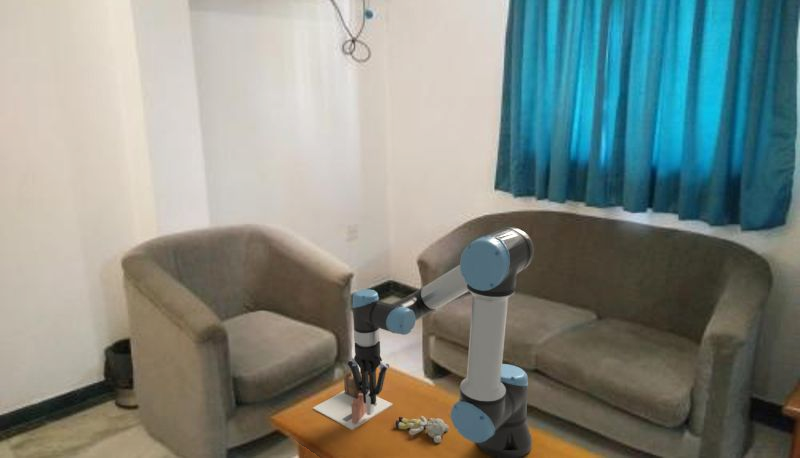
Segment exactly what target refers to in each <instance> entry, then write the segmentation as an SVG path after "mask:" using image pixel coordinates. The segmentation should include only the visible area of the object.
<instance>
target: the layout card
mask: <svg viewBox="0 0 800 458" xmlns="http://www.w3.org/2000/svg"><path fill="white" fill-rule="evenodd" d="M353 399H357V398H355V397H353V396H351V395H349V394H347V393H345V390H343V391H341V392H340V393H337V394H335V395H333V396H332V397H330V398H328V399H326V400H324V401H323V402H321V403H319V404H316V405H315V406H313V407H312V410H314V411H316V412H319V413H320V414H322V415H323V416H325V417H327V418H328V419H331V420H333V421H335V422H337V423H339V424H340V425H342V426H344V427H346V428H348V429H349V430H354V429H356V428H358V427H360V426H361V425H363V424H364V423H366V422H368V421H370V420H371V419H373V418H374V417H376V416H377V415H379V414H381V413H382V412H384V411H386V410H387V409H389V408H390V407H392V406H393V405H394V404H393V403H392V402H390V401H388V400H385V399H383V398H381V397H379V396H378V395H376V403H375V405H374V411H373V413H372V414H371V415H367V412H366V413H365V414H364V415H363V416H362V417H361V418H360V419H359V421H358V422H357V423H356V424H355V423H352V404H353Z"/></svg>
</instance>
